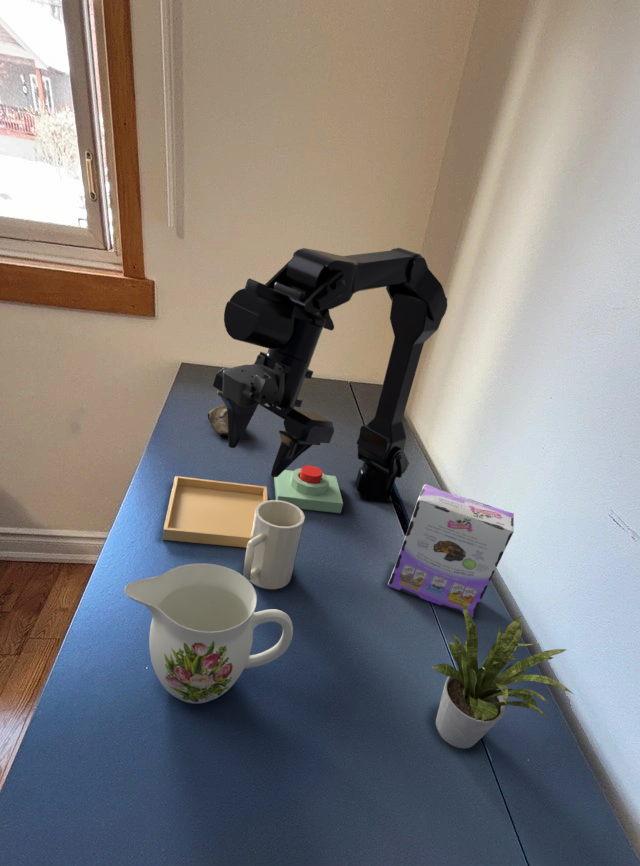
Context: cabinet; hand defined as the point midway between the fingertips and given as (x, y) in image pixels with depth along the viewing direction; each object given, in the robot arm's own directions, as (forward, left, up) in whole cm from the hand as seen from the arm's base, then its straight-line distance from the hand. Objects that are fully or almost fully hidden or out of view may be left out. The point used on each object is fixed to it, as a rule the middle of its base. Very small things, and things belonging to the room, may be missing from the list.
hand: (252, 461), depth 76 cm
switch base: (-12, -18, -15) cm, 27 cm away
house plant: (-26, +33, -16) cm, 45 cm away
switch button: (-12, -18, -12) cm, 25 cm away
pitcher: (+4, +26, -16) cm, 30 cm away
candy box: (-30, +7, -16) cm, 35 cm away
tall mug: (-4, +7, -15) cm, 17 cm away
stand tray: (+4, -8, -15) cm, 18 cm away
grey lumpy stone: (+4, -42, -16) cm, 45 cm away
